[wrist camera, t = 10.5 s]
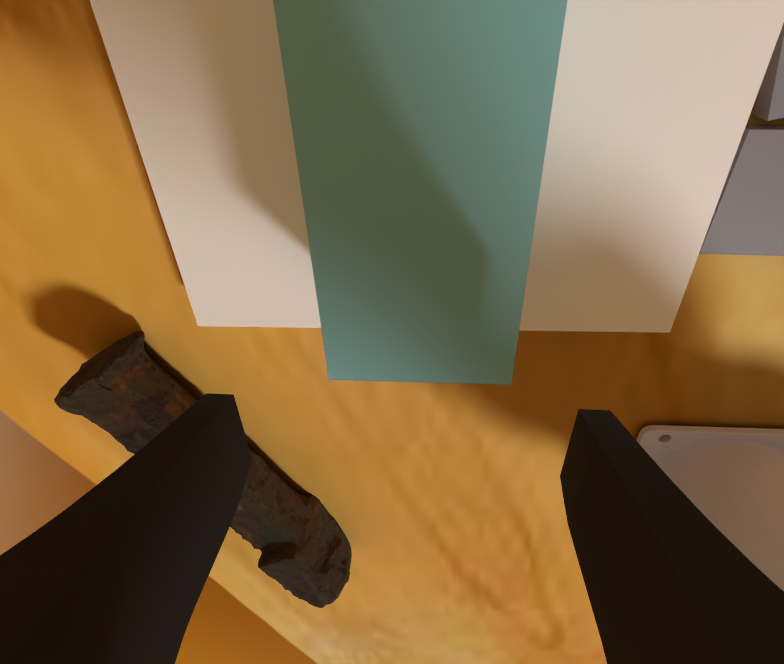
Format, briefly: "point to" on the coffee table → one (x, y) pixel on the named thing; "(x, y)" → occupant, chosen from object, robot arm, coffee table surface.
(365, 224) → the block
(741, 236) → the mark chip
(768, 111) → the mark chip
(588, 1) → the board
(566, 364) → the coffee table surface
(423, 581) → the coffee table surface
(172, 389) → the hand tool
